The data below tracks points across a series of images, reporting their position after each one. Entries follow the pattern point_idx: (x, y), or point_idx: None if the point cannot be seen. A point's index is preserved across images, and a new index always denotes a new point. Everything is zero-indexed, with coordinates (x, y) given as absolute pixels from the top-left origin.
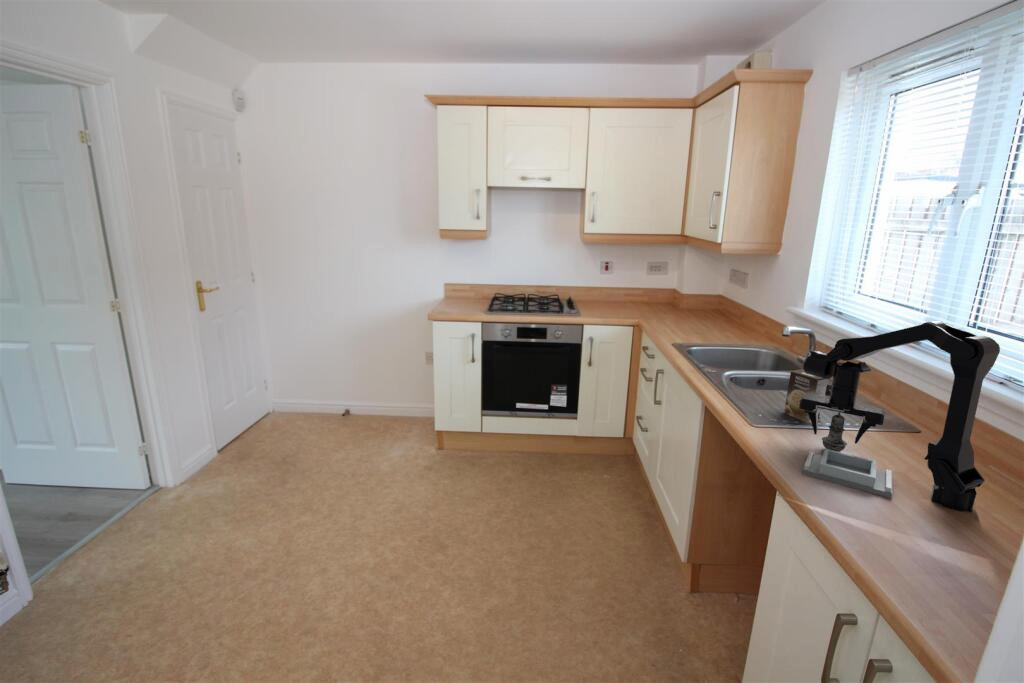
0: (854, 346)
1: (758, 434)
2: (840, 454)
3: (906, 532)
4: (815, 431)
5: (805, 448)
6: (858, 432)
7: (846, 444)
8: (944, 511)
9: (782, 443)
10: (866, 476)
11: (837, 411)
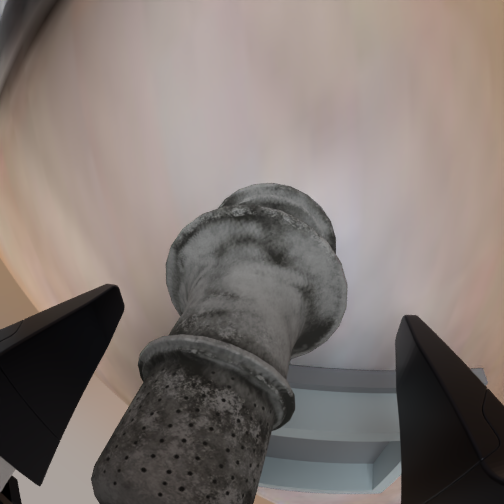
0: None
1: (7, 221)
2: (297, 434)
3: (389, 497)
4: (107, 334)
5: (145, 260)
6: (402, 473)
7: (340, 316)
8: None
9: (71, 259)
10: (360, 492)
11: None
